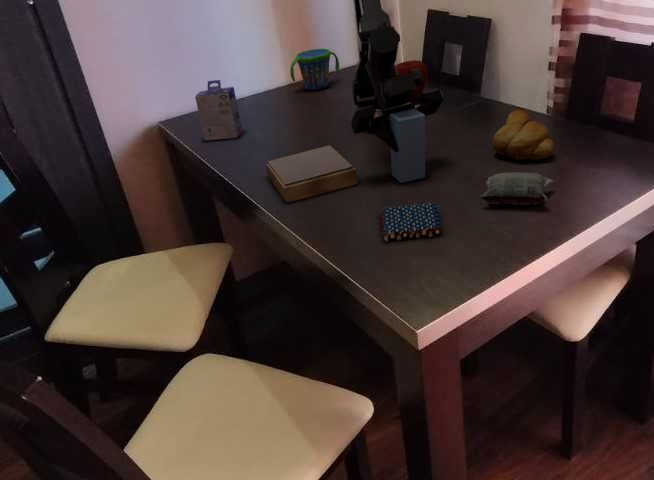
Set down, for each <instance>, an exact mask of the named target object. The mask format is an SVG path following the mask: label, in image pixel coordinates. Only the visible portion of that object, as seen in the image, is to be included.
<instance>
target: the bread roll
mask: <svg viewBox="0 0 654 480" xmlns="http://www.w3.org/2000/svg"><path fill="white" fill-rule="evenodd" d="M492 140H493V142H492V147H493V150H494V151H495V152H496V154H498V155H503V156H507V157H508V158H511V159H513V160H526V159H528V160H533V161H537V160H543V159H546V158H549V157H550V156H551V155H552V154H553V153H554V149H555V148H554V142H553V140H552V139H550V132H549V131H548V128H547V127H546V125H544V124H543V123H542V122H540V121H538V120H537V121H536V120H532V118H531V117H530V115H529V113H528V112H527V111H526V110H524V109H521V108H520V109H514V110H513V111H511V112H510V113H509V114H508V116H507V119H506V121H505V125H503V126H502V127H501V128H500V129H499V130H497V131H496V133H495V134H494V136H493V139H492Z"/></svg>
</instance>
